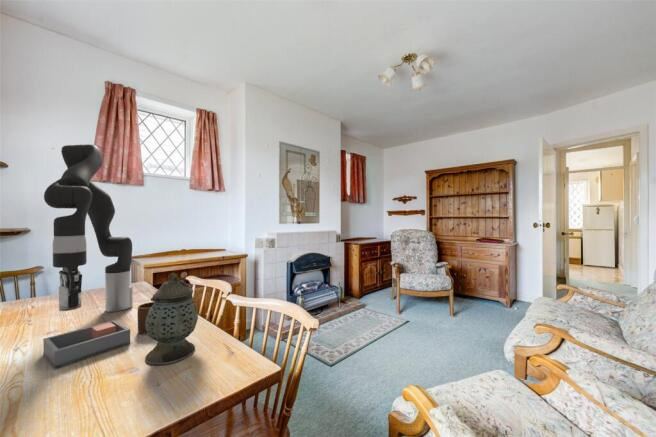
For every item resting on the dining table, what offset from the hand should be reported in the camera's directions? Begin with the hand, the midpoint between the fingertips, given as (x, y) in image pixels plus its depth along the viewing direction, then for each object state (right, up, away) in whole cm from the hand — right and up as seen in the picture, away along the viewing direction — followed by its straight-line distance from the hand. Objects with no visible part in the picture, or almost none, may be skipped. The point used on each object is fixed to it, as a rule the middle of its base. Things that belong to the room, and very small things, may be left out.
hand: (70, 305), depth 83 cm
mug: (+14, -15, +17) cm, 27 cm away
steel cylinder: (0, -1, 0) cm, 1 cm away
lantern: (+31, -16, +1) cm, 35 cm away
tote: (+2, -15, +3) cm, 16 cm away
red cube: (+5, -14, +7) cm, 17 cm away
